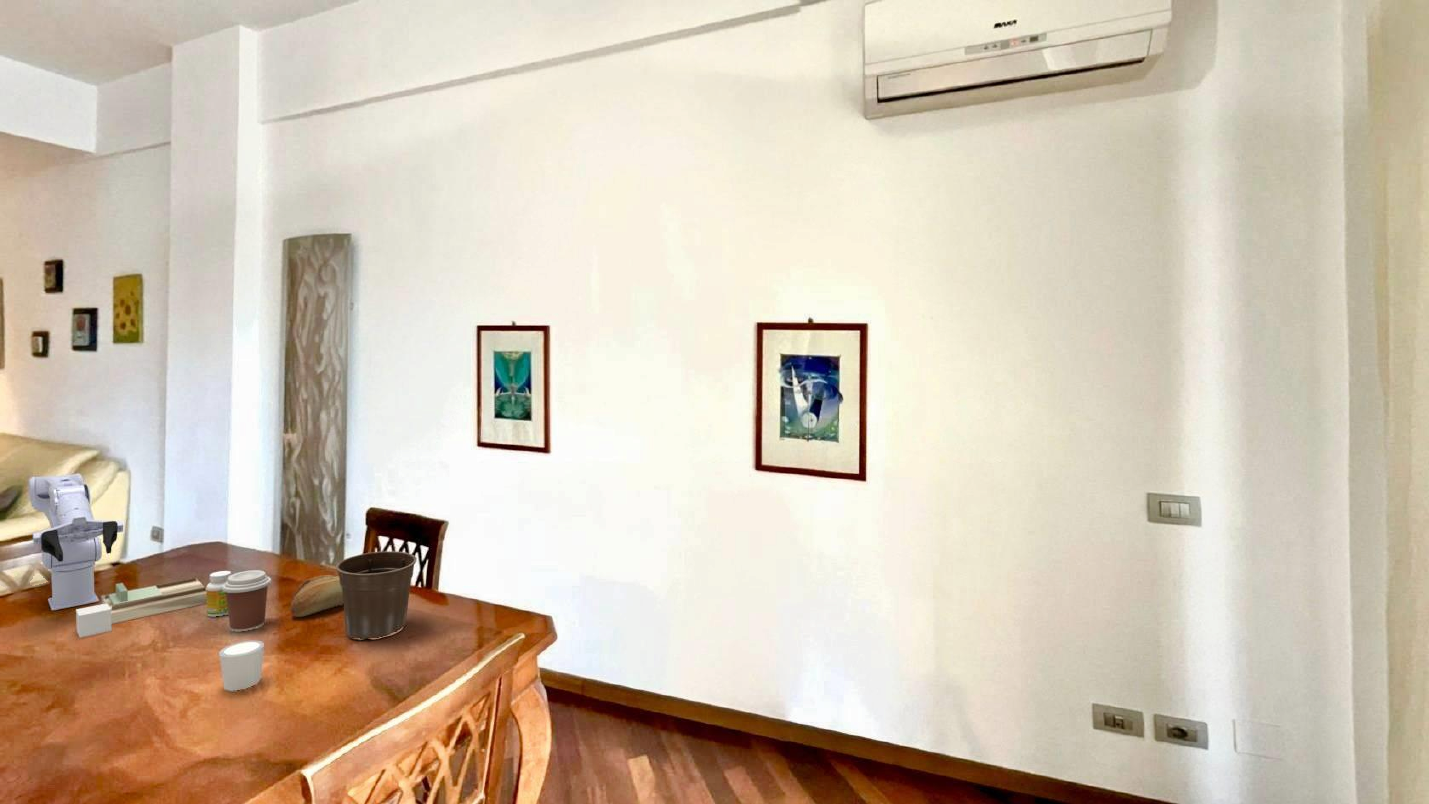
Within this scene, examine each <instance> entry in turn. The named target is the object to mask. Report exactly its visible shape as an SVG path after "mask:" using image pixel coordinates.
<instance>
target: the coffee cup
mask: <svg viewBox="0 0 1429 804" xmlns="http://www.w3.org/2000/svg"><path fill="white" fill-rule="evenodd" d="M271 583H272V578H271V577H270V576H268V575H267V573H266V572H265V571H263V570H259V569H257V570H256V569H253V570H244V571H240V572H235V573H233V574H231V576H229V577H228V578H227V582H226V583H224V584H223V585H222V591H223V592H226V600H227V608H228V623H229V630H230V629H231V630H230V632H233V631H235V632H234V633H242V632H241V631H245V630H250V629H254V628H256V627H260V626H261V627H263V626H264V625H265V624H264V622H265V621H266V620H265V619H266V610H267V598H268V587H269V586H270V585H271ZM265 623H266V622H265ZM263 624H264V625H263ZM262 625H263V626H262ZM261 627H260V628H261Z"/></svg>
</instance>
